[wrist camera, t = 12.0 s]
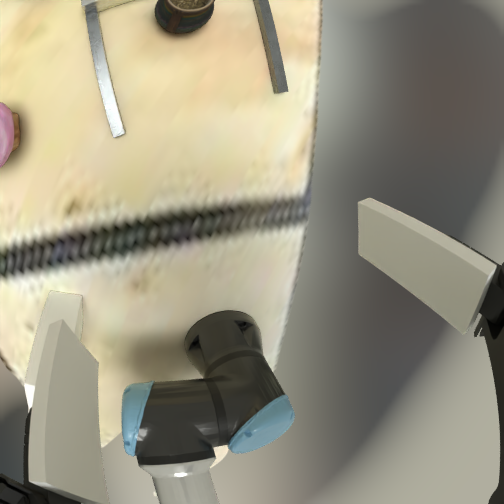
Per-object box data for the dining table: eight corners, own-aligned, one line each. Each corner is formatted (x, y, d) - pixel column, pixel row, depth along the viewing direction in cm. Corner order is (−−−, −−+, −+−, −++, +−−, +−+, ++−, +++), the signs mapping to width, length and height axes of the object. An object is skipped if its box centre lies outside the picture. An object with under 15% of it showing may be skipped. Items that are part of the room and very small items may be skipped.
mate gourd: (195, 45, 27) (212, 22, 19) (142, 30, 23) (142, 2, 15) (216, 5, 24) (241, -24, 16) (166, -10, 21) (175, -45, 13)
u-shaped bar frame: (283, 91, 34) (297, 90, 31) (115, 137, 29) (111, 139, 26) (255, -26, 23) (267, -37, 19) (86, 6, 18) (80, -5, 14)
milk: (83, 321, 39) (77, 436, 22) (52, 317, 37) (34, 429, 19) (82, 294, 37) (68, 415, 19) (49, 289, 34) (20, 406, 17)
